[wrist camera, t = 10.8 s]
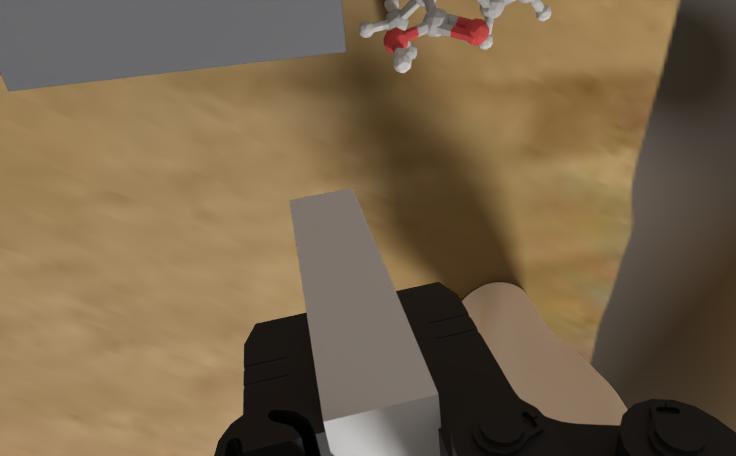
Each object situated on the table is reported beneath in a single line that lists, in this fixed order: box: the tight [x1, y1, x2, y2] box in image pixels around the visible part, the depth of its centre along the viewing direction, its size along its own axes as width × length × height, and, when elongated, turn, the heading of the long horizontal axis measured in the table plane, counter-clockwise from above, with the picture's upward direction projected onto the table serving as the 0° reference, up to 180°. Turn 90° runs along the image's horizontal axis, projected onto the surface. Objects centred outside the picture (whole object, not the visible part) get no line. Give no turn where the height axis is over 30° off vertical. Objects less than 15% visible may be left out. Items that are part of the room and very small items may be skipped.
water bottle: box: [462, 282, 627, 425], centre depth 39 cm, size 10×9×28 cm
